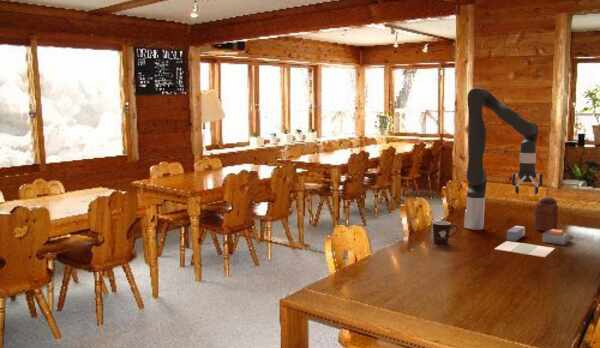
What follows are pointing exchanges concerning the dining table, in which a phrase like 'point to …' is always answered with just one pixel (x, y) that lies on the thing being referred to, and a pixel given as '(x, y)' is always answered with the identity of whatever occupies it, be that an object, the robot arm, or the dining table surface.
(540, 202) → the wooden figurine
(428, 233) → the dining table surface
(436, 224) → the coffee mug
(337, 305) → the dining table surface
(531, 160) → the robot arm
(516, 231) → the eraser
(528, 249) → the paper sheet
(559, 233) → the button cap
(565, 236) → the button housing
